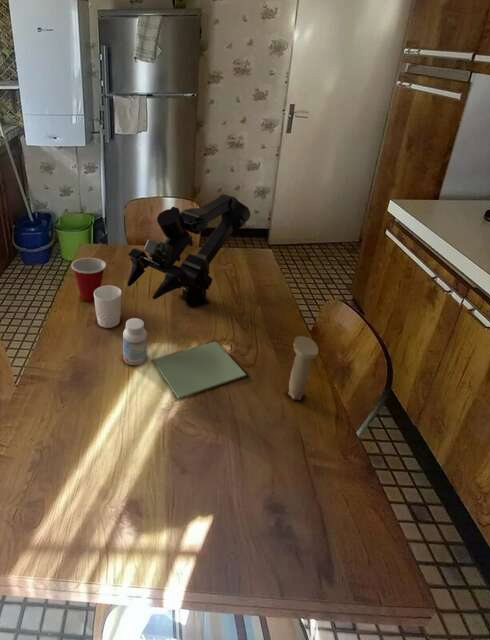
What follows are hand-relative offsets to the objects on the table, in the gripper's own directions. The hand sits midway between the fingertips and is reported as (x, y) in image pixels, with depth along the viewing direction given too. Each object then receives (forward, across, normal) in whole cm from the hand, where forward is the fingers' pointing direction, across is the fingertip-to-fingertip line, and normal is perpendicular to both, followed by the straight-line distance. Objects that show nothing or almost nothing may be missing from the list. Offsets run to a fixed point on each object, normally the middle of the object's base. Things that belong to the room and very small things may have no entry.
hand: (140, 291), depth 116 cm
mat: (+7, +20, +13) cm, 25 cm away
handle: (0, +42, +18) cm, 45 cm away
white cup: (+9, -12, +12) cm, 19 cm away
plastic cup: (+5, -26, +15) cm, 30 cm away
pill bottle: (+14, +5, +9) cm, 18 cm away
